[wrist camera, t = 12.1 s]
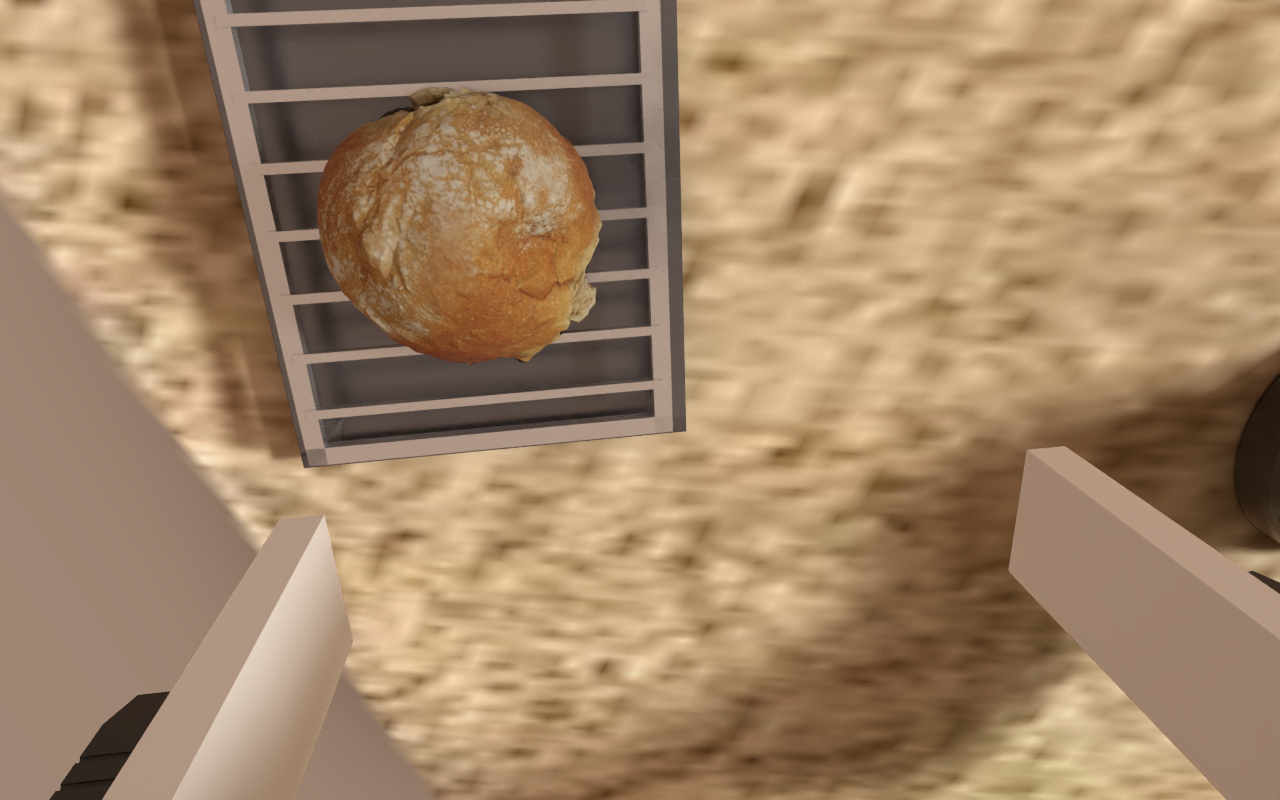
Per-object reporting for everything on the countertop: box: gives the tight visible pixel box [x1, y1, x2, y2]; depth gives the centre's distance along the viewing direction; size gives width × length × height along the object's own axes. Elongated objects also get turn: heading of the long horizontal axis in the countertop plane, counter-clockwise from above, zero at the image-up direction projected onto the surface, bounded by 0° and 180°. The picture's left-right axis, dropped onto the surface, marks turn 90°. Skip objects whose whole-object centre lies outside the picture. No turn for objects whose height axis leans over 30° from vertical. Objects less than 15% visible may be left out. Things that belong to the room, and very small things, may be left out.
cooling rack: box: [193, 0, 686, 468], centre depth 32 cm, size 18×22×4 cm
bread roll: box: [317, 87, 602, 366], centre depth 28 cm, size 10×10×8 cm
